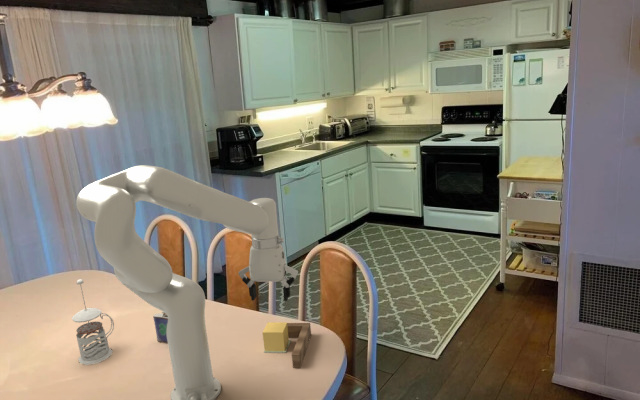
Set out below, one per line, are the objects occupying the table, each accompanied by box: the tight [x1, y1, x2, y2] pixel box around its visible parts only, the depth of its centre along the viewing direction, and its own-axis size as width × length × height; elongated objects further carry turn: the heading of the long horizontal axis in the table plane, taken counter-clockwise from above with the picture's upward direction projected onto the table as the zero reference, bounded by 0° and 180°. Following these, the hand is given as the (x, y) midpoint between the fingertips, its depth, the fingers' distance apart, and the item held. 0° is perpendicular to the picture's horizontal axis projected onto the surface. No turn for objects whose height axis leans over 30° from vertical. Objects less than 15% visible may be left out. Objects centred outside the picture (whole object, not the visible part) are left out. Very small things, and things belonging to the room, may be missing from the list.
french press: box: [71, 278, 115, 366], centre depth 146 cm, size 10×12×25 cm
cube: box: [262, 321, 290, 351], centre depth 144 cm, size 6×6×6 cm
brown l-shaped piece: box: [263, 322, 312, 369], centre depth 142 cm, size 18×12×4 cm
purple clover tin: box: [153, 311, 168, 345], centre depth 152 cm, size 9×3×11 cm, turn 65°
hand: (270, 298), depth 141 cm, fingers open, 9 cm apart
